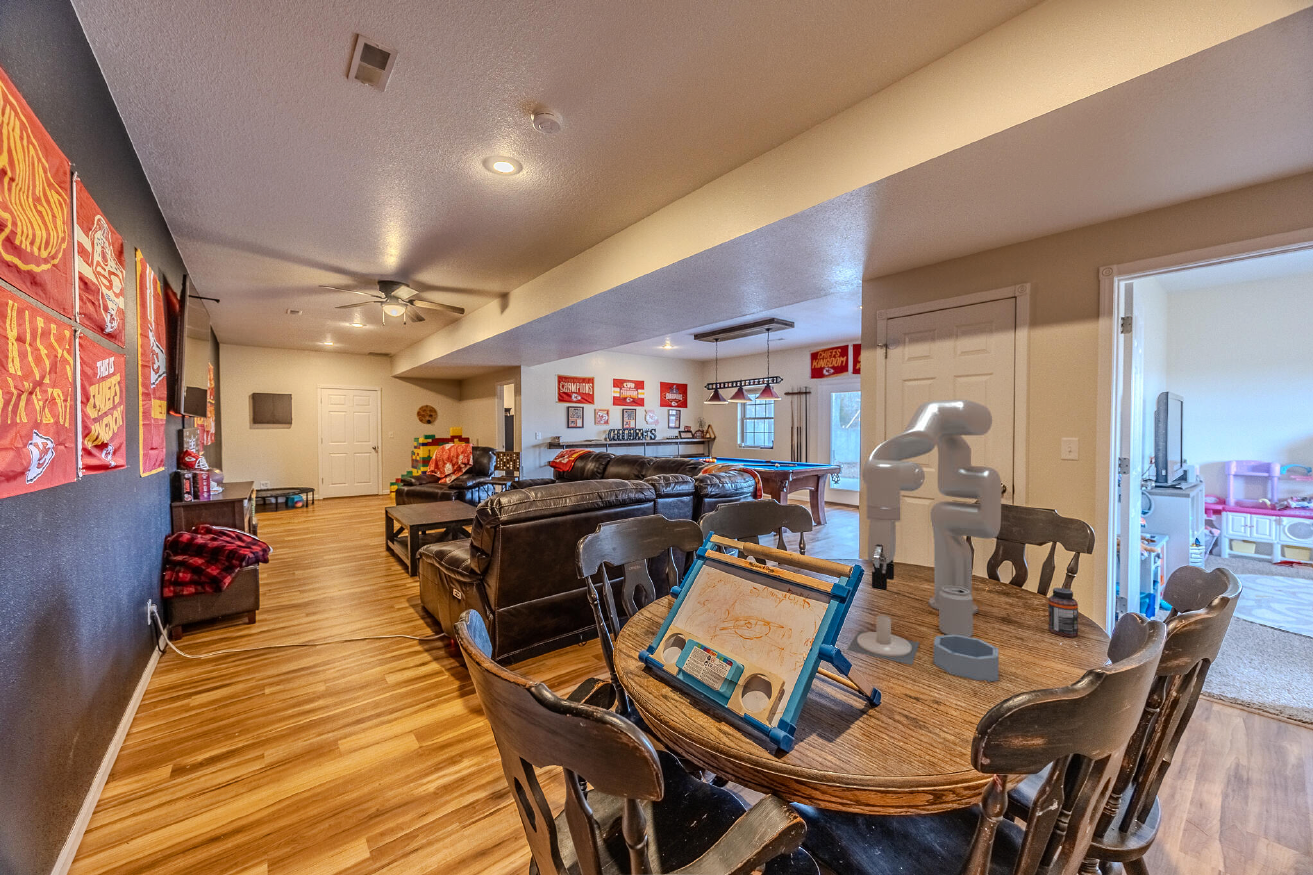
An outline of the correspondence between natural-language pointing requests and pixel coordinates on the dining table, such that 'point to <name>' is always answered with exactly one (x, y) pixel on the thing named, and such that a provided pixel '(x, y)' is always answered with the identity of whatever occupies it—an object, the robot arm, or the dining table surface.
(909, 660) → the plate
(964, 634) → the can
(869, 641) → the lid
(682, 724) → the dining table surface
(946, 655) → the bowl
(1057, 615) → the supplement bottle
